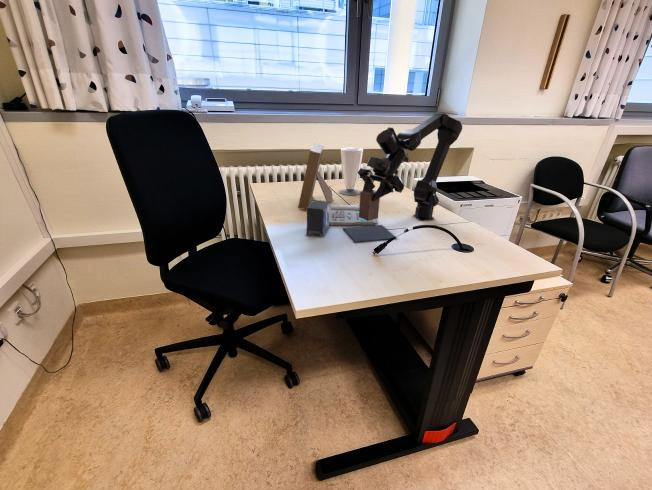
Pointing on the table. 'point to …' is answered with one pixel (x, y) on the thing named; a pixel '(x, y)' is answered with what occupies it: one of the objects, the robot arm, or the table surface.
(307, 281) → the table surface
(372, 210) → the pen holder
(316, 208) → the small box
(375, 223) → the office telephone
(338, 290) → the table surface
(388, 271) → the table surface
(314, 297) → the table surface
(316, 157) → the photo frame
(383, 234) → the desk pad
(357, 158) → the cup
